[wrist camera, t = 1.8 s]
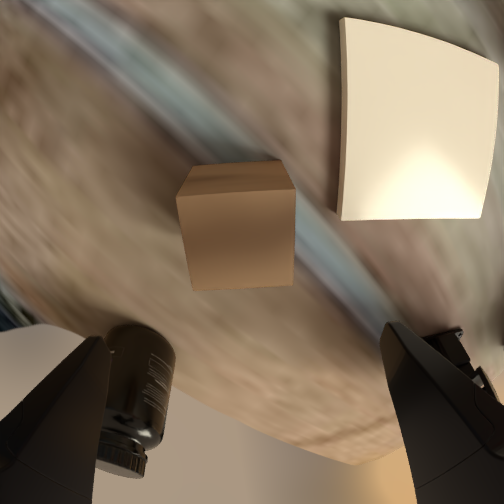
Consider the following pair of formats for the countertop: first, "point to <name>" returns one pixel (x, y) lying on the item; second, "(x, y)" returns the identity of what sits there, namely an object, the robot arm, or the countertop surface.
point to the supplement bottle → (134, 399)
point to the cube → (238, 225)
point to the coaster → (413, 125)
